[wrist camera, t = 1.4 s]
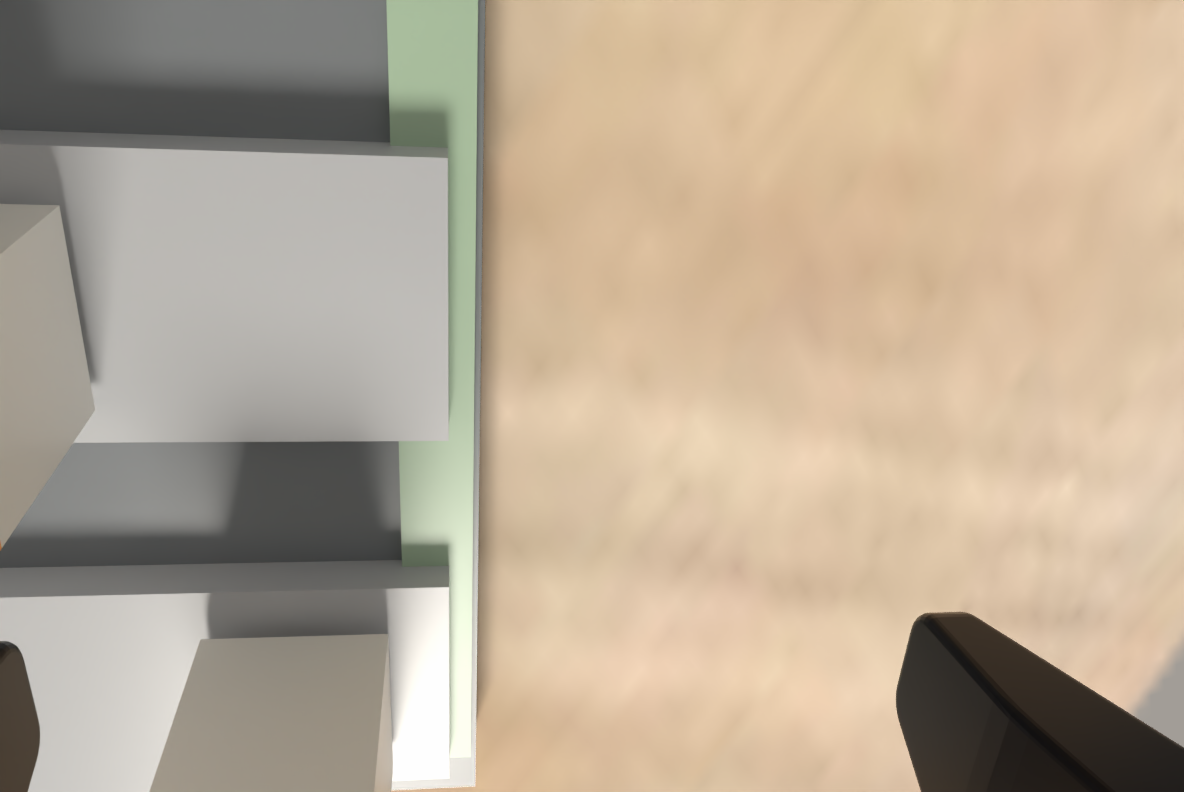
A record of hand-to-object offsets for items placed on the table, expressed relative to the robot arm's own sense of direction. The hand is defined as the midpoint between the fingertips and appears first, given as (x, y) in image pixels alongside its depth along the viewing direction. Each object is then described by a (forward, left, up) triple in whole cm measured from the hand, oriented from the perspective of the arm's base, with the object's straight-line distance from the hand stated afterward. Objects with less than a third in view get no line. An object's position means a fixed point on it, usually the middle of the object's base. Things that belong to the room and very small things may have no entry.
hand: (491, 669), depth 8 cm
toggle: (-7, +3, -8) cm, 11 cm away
